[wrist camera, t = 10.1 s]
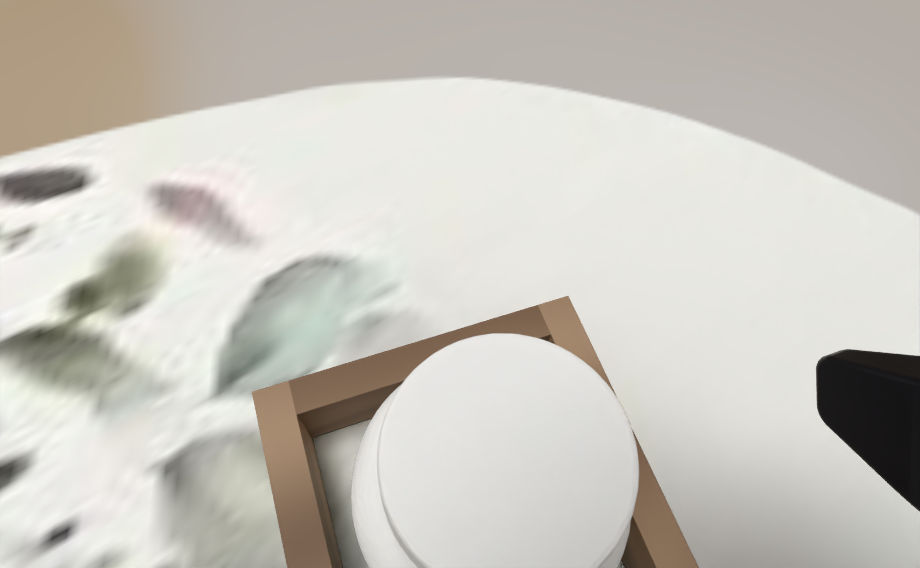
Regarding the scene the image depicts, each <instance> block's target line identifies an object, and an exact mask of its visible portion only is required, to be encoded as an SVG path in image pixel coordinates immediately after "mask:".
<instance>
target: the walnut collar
mask: <svg viewBox="0 0 920 568" xmlns="http://www.w3.org/2000/svg"><path fill="white" fill-rule="evenodd" d="M492 333H505V334H520V335H525V336H530V337H535V338H539V339H542V340H545V341H548V342H550V343H553V344H555V345H557V346H560V347H562V348H564V349H565V350H567V351H569V352H571V353H572V354H574V355H575V356H577V357H578V358H580V359H581V360H583V361H584V362H585V363H586V364H588V365H589V366H590V367H591V368H592V369H593V370H595V371H596V372H597V373H598V374H599V375H600V377H601V378H602V379H603V380H604V381H605V382H606V383H607V384H608V386H609V387H610V388H611V389H612V391H613V392H614V390H613V388H612V386H611V384H610V382H609V380H608V378H607V376H606V374H605V371H604V369H603V367H602V365H601V363H600V361H599V359H598V357H597V355H596V353H595V351H594V349H593V346H592V344H591V342H590V340H589V338H588V336H587V334H586V332H585V330H584V328H583V326H582V324H581V321H580V319H579V317H578V315H577V313H576V311H575V309H574V307H573V305H572V303H571V301H570V299H569V296H566V297H563V298H559V299H556V300H553V301H549V302H546V303H543V304H540V305H536V306H533V307H530V308H526V309H523V310H520V311H517V312H513V313H510V314H507V315H503V316H500V317H497V318H494V319H490V320H487V321H484V322H480V323H477V324H474V325H471V326H467V327H464V328H461V329H457V330H454V331H451V332H448V333H444V334H441V335H438V336H434V337H431V338H428V339H424V340H421V341H418V342H415V343H411V344H408V345H405V346H401V347H398V348H395V349H392V350H388V351H385V352H382V353H378V354H375V355H372V356H369V357H365V358H362V359H359V360H355V361H352V362H349V363H346V364H342V365H339V366H336V367H332V368H329V369H326V370H323V371H319V372H316V373H313V374H309V375H306V376H303V377H299V378H296V379H293V380H290V381H286V382H283V383H280V384H276V385H273V386H270V387H267V388H263V389H260V390H257V391H253V392H252V395H253V400H254V405H255V410H256V414H257V419H258V424H259V429H260V434H261V439H262V444H263V449H264V454H265V459H266V464H267V469H268V474H269V479H270V484H271V489H272V494H273V499H274V503H275V508H276V513H277V518H278V523H279V528H280V533H281V538H282V543H283V548H284V553H285V558H286V563H287V568H343V566H342V561H341V557H340V553H339V549H338V545H337V541H336V536H335V532H334V528H333V524H332V520H331V515H330V511H329V507H328V503H327V499H326V495H325V490H324V486H323V482H322V478H321V474H320V470H319V465H318V461H317V457H316V453H315V449H314V445H313V440H312V438H313V437H316V436H319V435H322V434H325V433H328V432H331V431H334V430H337V429H340V428H344V427H347V426H350V425H353V424H356V423H359V422H362V421H365V420H368V419H371V418H373V416H374V415H375V413H376V412H377V410H378V409H379V408H380V406H381V405H382V403H383V402H384V401H385V400H386V399H387V398H388V397H389V395H390V394H391V393H392V392H394V391H395V390H396V389H397V388H398V387H399V386H400V385H401V384H402V383H403V382H404V380H405V379H406V378H407V377H408V376H409V375H410V374H411V372H412V371H413V370H414V369H415V368H416V367H417V366H419V365H420V364H421V363H422V362H423V361H425V360H426V359H427V358H428V357H430V356H431V355H433V354H434V353H435V352H437V351H439V350H441V349H443V348H444V347H446V346H448V345H451V344H453V343H455V342H457V341H460V340H463V339H467V338H471V337H475V336H479V335H485V334H492ZM614 394H615V392H614ZM615 395H616V394H615ZM632 431H633V430H632ZM633 435H634V438H635V441H636V446H637V452H638V462H639V485H638V494H637V498H636V503H635V507H634V512H633V515H632V518H631V521H630V531H629V536H628V539H627V543H626V546H625V550H624V553H623V556H622V558H621V559H622V562H623V564H624V566H625V568H699V567H698V565H697V563H696V561H695V559H694V557H693V555H692V553H691V551H690V549H689V547H688V545H687V542H686V540H685V538H684V536H683V534H682V532H681V530H680V528H679V526H678V524H677V522H676V520H675V517H674V515H673V513H672V511H671V509H670V507H669V505H668V503H667V501H666V499H665V497H664V494H663V492H662V490H661V488H660V486H659V484H658V482H657V480H656V478H655V476H654V474H653V472H652V469H651V467H650V465H649V463H648V461H647V459H646V457H645V455H644V453H643V451H642V449H641V447H640V444H639V442H638V440H637V438H636V436H635V434H634V432H633Z"/></svg>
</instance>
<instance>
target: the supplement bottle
mask: <svg viewBox="0 0 920 568" xmlns="http://www.w3.org/2000/svg"><path fill="white" fill-rule="evenodd" d="M638 485H639V462H638V452H637V446H636V441H635V438H634V435H633V431H632V428H631V425H630V422H629V420H628V417H627V415H626V413H625V411H624V409H623V407H622V405H621V403H620V402H619V400H618V399H617V397H616V395H615V394H614V392H613V391H612V389H611V388H610V387H609V386H608V384H607V383H606V382H605V381H604V380H603V379H602V378H601V377H600V375H599V374H598V373H597V372H596V371H595V370H593V369H592V368H591V367H590V366H589V365H588V364H586V363H585V362H584V361H583V360H581V359H580V358H578V357H577V356H575V355H574V354H572V353H571V352H569V351H567V350H565V349H564V348H562V347H560V346H557V345H555V344H553V343H550V342H548V341H545V340H542V339H539V338H535V337H530V336H525V335H520V334H505V333H492V334H485V335H479V336H475V337H471V338H467V339H463V340H460V341H457V342H455V343H453V344H451V345H448V346H446V347H444V348H443V349H441V350H439V351H437V352H435V353H434V354H433V355H431V356H430V357H428V358H427V359H426V360H425V361H423V362H422V363H421V364H420V365H419V366H417V367H416V368H415V369H414V370H413V371H412V372H411V374H410V375H409V376H408V377H407V378H406V379H405V380H404V382H403V383H402V384H401V385H400V386H399V387H398V388H397V389H396V390H395V391H394V392H392V393H391V394H390V395H389V397H388V398H387V399H386V400H385V401H384V402H383V403H382V405H381V406H380V408H379V409H378V410H377V412H376V413H375V415H374V416H373V418H372V420H371V421H370V423H369V425H368V427H367V429H366V431H365V433H364V435H363V438H362V441H361V443H360V446H359V449H358V451H357V455H356V459H355V464H354V469H353V475H352V484H351V508H352V517H353V523H354V528H355V532H356V536H357V540H358V543H359V546H360V549H361V551H362V554H363V557H364V559H365V561H366V563H367V565H368V567H369V568H617V567H618V565H619V563H620V561H621V558H622V556H623V553H624V550H625V546H626V543H627V539H628V536H629V531H630V521H631V518H632V515H633V512H634V507H635V503H636V498H637V494H638Z"/></svg>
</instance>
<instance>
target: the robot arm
mask: <svg viewBox="0 0 920 568" xmlns="http://www.w3.org/2000/svg"><path fill="white" fill-rule="evenodd" d="M816 387H817V409H818V412H819V415H820V417H821V418H822V420H823V421H824V423H825V424H826V425H827V426H828V427H829V428H830V429H831V430H832V431H833V432H834V433H836V434H837V435H838V436H839V437H840V438H841V439H842V440H843V441H844V442H845V443H846V444H847V445H848V446H849V447H850V448H851V449H852V450H853V451H855V452H856V453H857V454H858V455H859V456H860V457H861V458H862V459H863V460H864V461H865V462H866V463H867V464H868V465H869V466H870V467H871V468H872V469H874V470H875V471H876V472H877V473H878V474H879V475H880V476H881V477H882V478H883V479H884V480H885V481H886V482H887V483H888V484H889V485H890V486H891V487H893V488H894V489H895V490H896V491H897V492H898V493H899V494H900V495H901V496H902V497H903V498H905V499H906V500H907V501H908V502H909V503H910V504H911V505H913V506H914V507H915V508H916V509H917V510H919V511H920V356H914V355H903V354H893V353H882V352H872V351H861V350H851V349H846V350H841V351H838V352H835V353H832V354H829V355H827V356H824V357H822V358H821V359H820V360H819V361H818V363H817V366H816Z"/></svg>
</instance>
